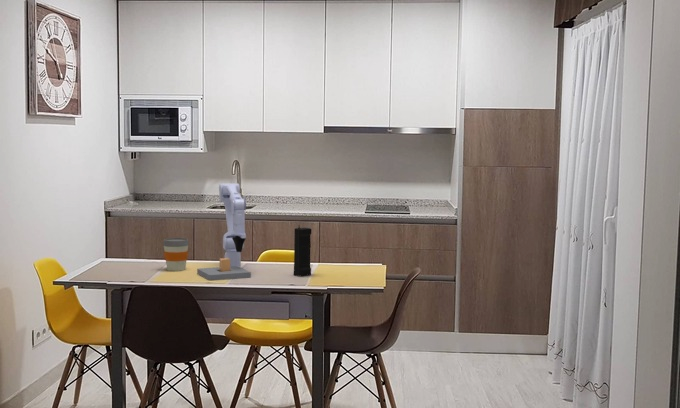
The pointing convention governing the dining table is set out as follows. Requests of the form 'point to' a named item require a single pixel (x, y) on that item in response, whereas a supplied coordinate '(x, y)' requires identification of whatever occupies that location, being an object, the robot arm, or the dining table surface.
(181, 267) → the reusable coffee cup
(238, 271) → the socket plate
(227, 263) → the plug
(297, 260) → the portable radio
